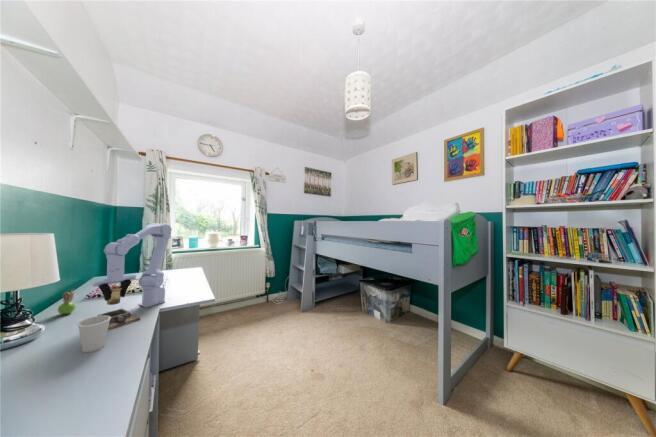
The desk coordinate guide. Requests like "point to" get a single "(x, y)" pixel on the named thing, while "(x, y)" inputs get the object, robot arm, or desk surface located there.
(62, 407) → the desk surface
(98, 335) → the dixie cup
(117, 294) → the cylinder
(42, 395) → the desk surface
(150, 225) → the robot arm
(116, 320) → the board
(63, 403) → the desk surface
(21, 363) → the desk surface
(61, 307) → the snail figurine
